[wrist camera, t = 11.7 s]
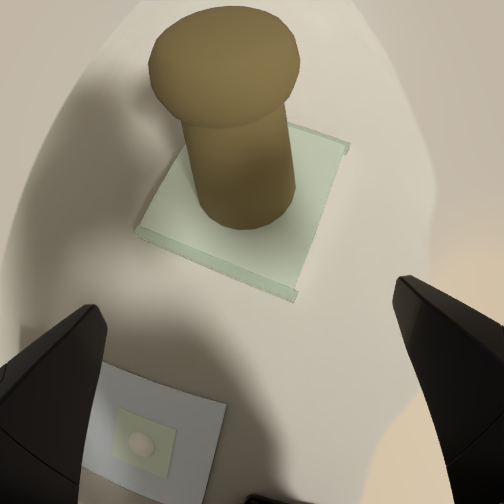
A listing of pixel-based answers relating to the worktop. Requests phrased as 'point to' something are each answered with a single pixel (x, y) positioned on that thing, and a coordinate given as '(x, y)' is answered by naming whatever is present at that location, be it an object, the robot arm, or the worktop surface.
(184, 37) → the cork
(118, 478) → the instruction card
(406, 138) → the worktop surface
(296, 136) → the baseplate
